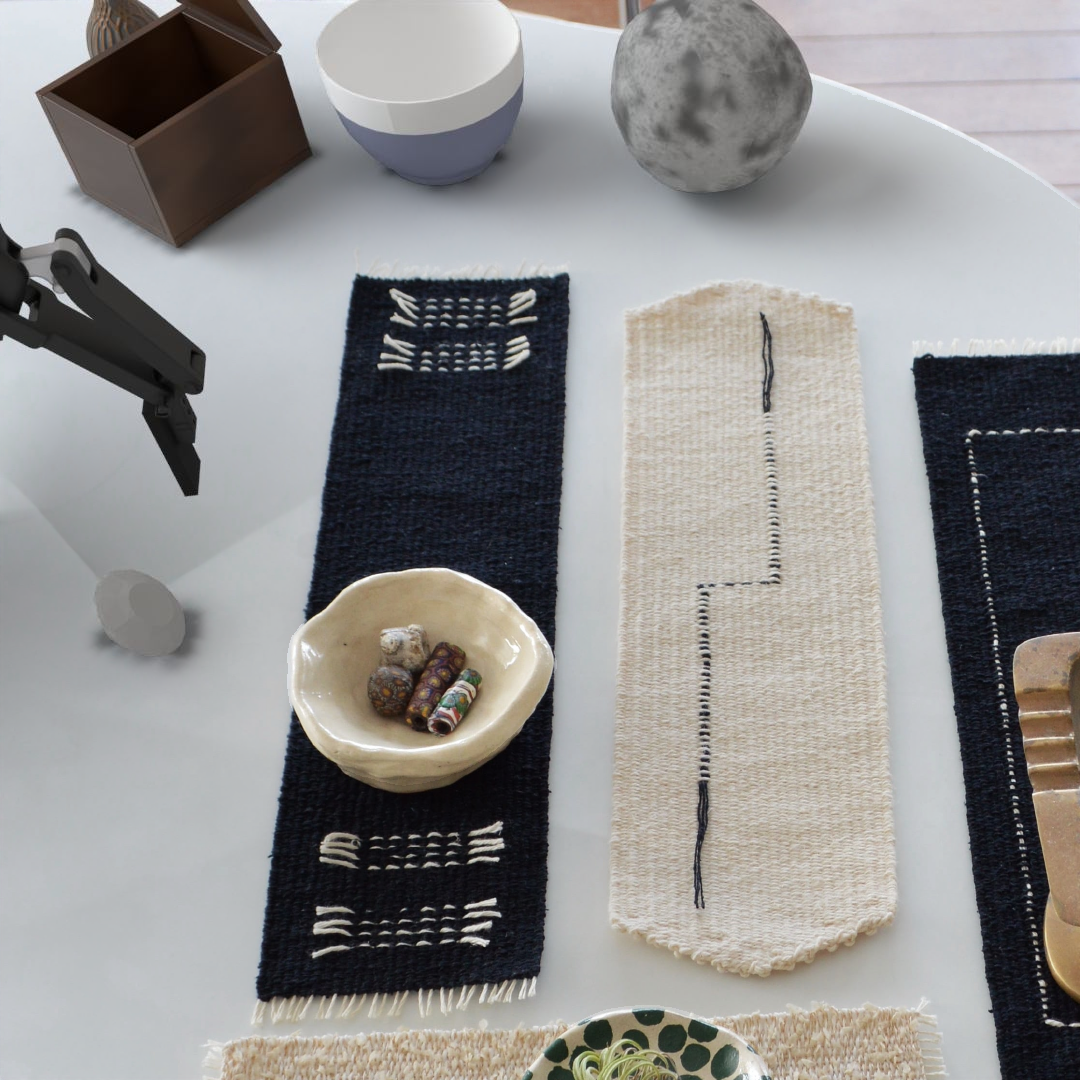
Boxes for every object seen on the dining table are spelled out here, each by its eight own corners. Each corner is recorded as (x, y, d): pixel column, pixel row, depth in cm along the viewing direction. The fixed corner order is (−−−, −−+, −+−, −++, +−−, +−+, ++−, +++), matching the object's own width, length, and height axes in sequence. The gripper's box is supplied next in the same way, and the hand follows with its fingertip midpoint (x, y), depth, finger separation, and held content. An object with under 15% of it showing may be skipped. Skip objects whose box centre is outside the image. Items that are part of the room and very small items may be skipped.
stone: (653, 109, 123) (638, -70, 110) (830, 139, 120) (835, -40, 108) (595, 219, 115) (572, 40, 102) (782, 254, 113) (782, 75, 100)
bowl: (559, 102, 123) (544, -8, 115) (509, 222, 115) (489, 113, 107) (381, 83, 125) (353, -26, 117) (319, 201, 117) (284, 91, 108)
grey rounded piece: (61, 584, 93) (103, 548, 90) (151, 610, 97) (193, 577, 95) (63, 668, 90) (105, 633, 88) (155, 691, 95) (198, 659, 92)
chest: (177, 248, 114) (134, 148, 106) (82, 191, 117) (34, 91, 110) (313, 154, 120) (281, 54, 112) (218, 103, 123) (182, 3, 116)
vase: (93, 89, 125) (49, -11, 117) (163, 57, 127) (125, -43, 120) (133, 125, 122) (91, 25, 114) (204, 92, 124) (168, -8, 117)
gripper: (160, 93, 68) (293, 421, 86) (-390, 147, 67) (-137, 470, 85) (148, 193, 64) (289, 515, 82) (-437, 253, 63) (-161, 568, 81)
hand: (74, 493), depth 84 cm, fingers open, 13 cm apart
